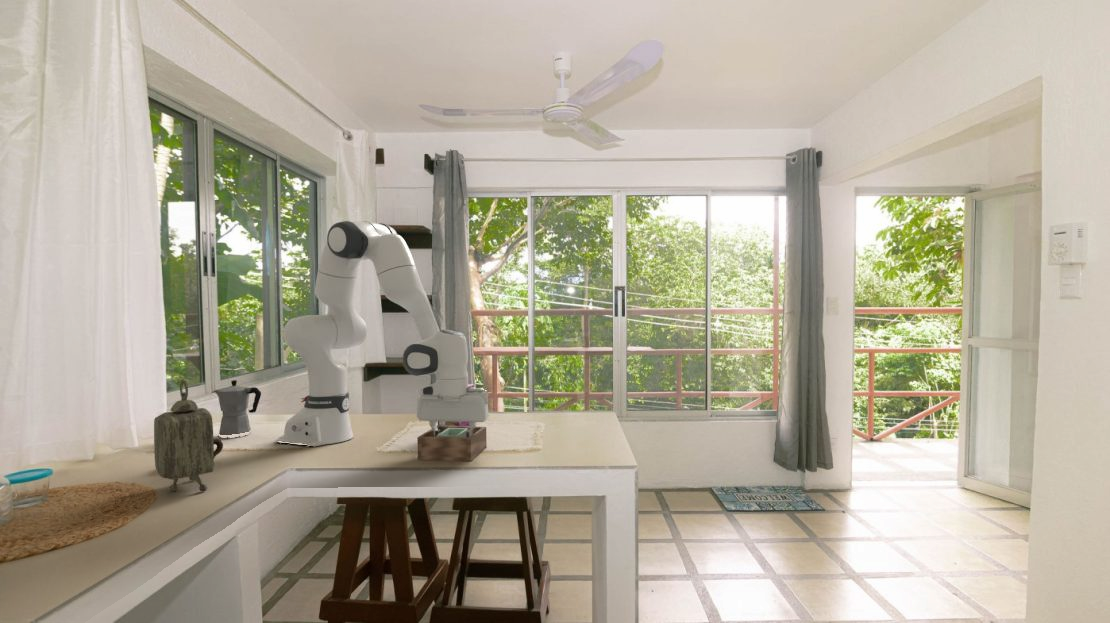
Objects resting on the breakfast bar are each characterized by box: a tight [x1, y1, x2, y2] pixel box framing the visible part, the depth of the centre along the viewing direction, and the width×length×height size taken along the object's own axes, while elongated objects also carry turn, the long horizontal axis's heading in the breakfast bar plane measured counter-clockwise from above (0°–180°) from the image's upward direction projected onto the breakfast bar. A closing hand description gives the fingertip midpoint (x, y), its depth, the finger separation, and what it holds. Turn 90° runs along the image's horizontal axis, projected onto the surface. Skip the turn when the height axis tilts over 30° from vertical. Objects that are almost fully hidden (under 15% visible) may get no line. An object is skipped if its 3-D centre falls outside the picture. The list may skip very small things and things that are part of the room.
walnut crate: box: [417, 424, 488, 463], centre depth 148 cm, size 15×14×6 cm
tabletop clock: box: [153, 379, 215, 492], centre depth 121 cm, size 14×9×25 cm, turn 45°
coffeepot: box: [213, 379, 262, 435], centre depth 172 cm, size 15×9×18 cm, turn 88°
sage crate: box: [437, 428, 468, 438], centre depth 148 cm, size 6×9×5 cm, turn 171°
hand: (453, 436), depth 148 cm, fingers open, 8 cm apart
